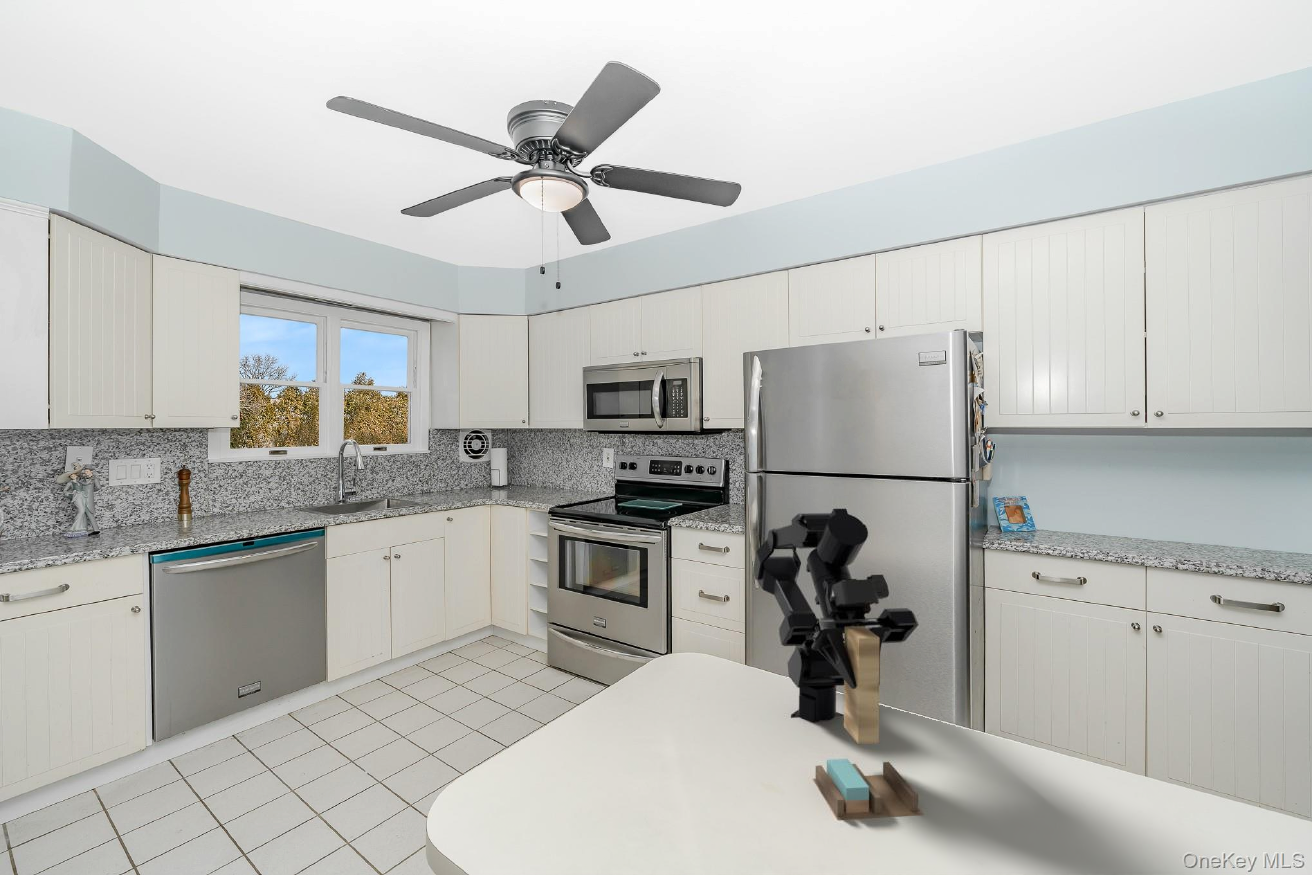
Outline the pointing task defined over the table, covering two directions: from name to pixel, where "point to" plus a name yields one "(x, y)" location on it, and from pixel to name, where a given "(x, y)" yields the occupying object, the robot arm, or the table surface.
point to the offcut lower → (854, 804)
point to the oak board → (862, 685)
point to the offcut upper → (847, 780)
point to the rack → (873, 795)
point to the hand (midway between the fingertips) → (865, 687)
